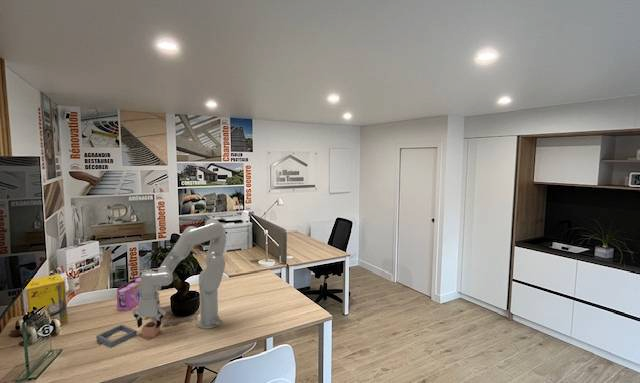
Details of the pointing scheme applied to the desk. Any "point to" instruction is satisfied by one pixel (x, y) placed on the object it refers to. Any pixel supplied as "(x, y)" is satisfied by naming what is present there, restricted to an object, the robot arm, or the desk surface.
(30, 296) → the packaging box
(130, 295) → the gum box
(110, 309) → the desk surface
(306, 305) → the desk surface
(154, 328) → the ring
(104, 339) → the tray
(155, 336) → the board
